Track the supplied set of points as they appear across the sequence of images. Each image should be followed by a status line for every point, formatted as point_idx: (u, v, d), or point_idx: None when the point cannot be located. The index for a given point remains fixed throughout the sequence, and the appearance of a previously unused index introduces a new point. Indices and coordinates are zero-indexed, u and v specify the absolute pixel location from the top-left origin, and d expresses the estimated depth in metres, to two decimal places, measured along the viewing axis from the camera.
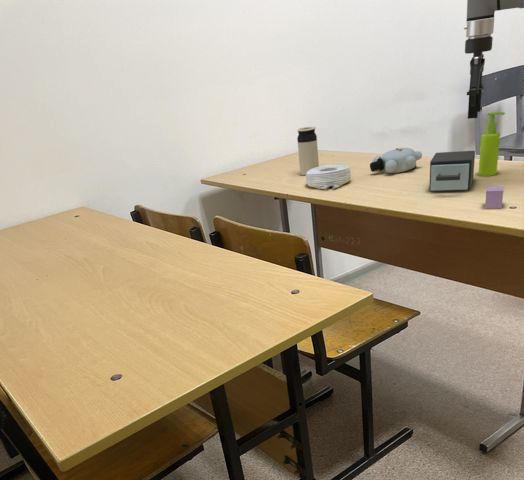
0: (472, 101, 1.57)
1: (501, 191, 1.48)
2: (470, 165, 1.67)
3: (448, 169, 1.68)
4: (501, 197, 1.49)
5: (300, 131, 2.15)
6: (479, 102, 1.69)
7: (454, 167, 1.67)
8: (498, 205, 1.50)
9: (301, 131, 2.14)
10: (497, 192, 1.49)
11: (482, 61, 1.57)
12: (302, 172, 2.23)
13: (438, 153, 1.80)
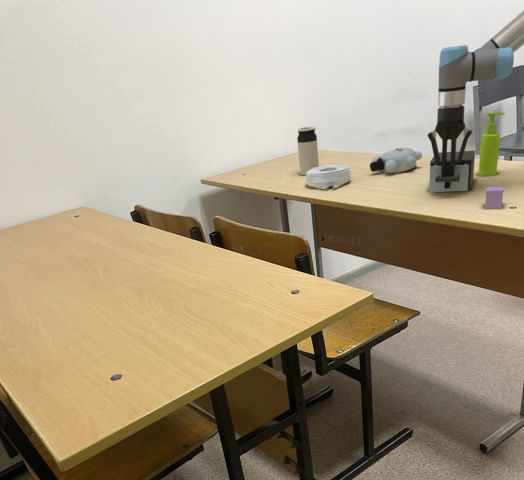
0: None
1: (501, 191, 1.48)
2: (470, 165, 1.67)
3: None
4: (501, 197, 1.49)
5: (300, 131, 2.15)
6: None
7: None
8: (498, 205, 1.50)
9: (301, 131, 2.14)
10: (497, 192, 1.49)
11: (442, 132, 1.59)
12: (302, 172, 2.23)
13: None
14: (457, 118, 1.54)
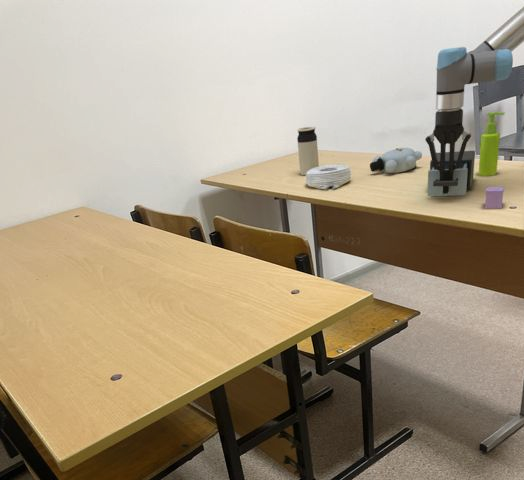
0: (440, 176, 1.62)
1: (501, 191, 1.48)
2: (470, 165, 1.67)
3: None
4: (501, 197, 1.49)
5: (300, 131, 2.15)
6: None
7: None
8: (498, 205, 1.50)
9: (301, 131, 2.14)
10: (497, 192, 1.49)
11: (440, 136, 1.55)
12: (302, 172, 2.23)
13: (438, 153, 1.80)
14: (455, 122, 1.50)
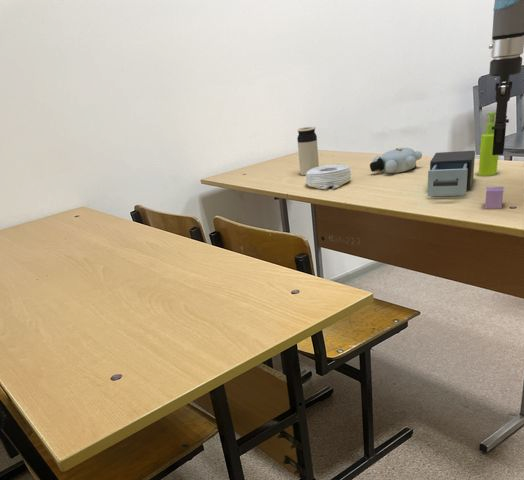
0: (498, 136, 1.39)
1: (501, 191, 1.48)
2: (470, 165, 1.67)
3: (446, 174, 1.62)
4: (501, 197, 1.49)
5: (300, 131, 2.15)
6: None
7: (452, 172, 1.61)
8: (498, 205, 1.50)
9: (301, 131, 2.14)
10: (497, 192, 1.49)
11: (510, 86, 1.36)
12: (302, 172, 2.23)
13: (438, 153, 1.80)
14: None
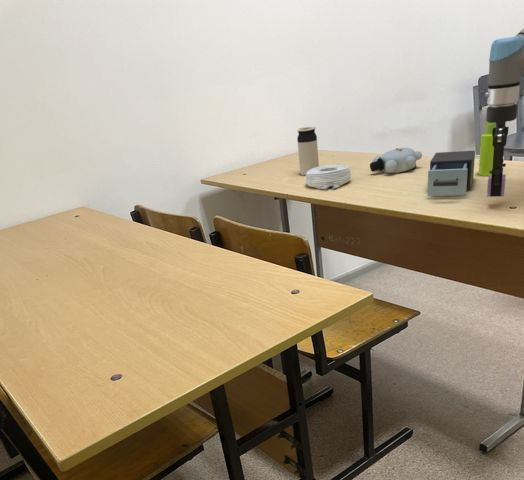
0: (495, 179, 1.46)
1: (503, 178, 1.47)
2: (470, 165, 1.67)
3: (446, 174, 1.62)
4: (503, 185, 1.47)
5: (300, 131, 2.15)
6: None
7: (452, 172, 1.61)
8: (501, 193, 1.49)
9: (301, 131, 2.14)
10: None
11: (506, 132, 1.41)
12: (302, 172, 2.23)
13: (438, 153, 1.80)
14: None
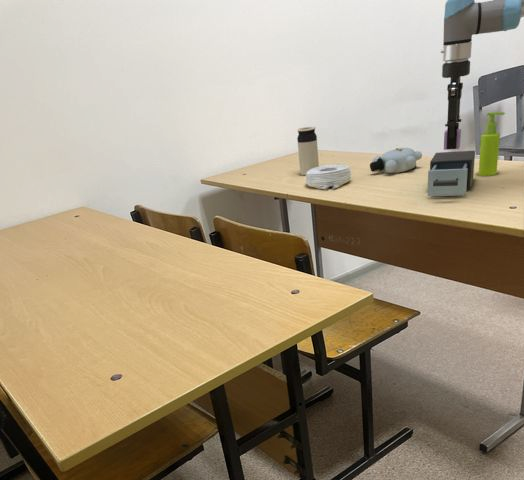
0: (450, 132, 1.57)
1: (458, 131, 1.58)
2: (470, 165, 1.67)
3: (446, 174, 1.62)
4: (458, 138, 1.58)
5: (300, 131, 2.15)
6: None
7: (452, 172, 1.61)
8: (456, 145, 1.60)
9: (301, 131, 2.14)
10: None
11: (460, 87, 1.52)
12: (302, 172, 2.23)
13: (438, 153, 1.80)
14: None
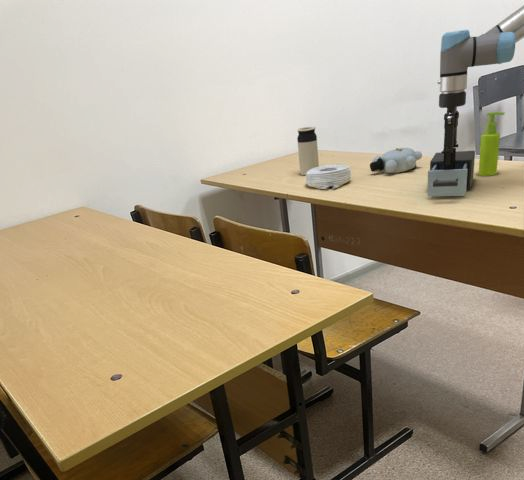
0: (447, 159, 1.60)
1: None
2: (470, 165, 1.67)
3: (446, 175, 1.62)
4: None
5: (300, 131, 2.15)
6: (453, 160, 1.67)
7: (452, 172, 1.61)
8: None
9: (301, 131, 2.14)
10: None
11: (456, 116, 1.56)
12: (302, 172, 2.23)
13: (438, 153, 1.80)
14: None
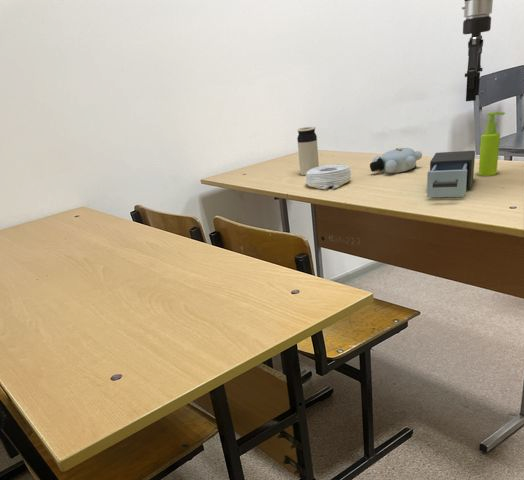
0: (470, 83, 1.53)
1: None
2: (470, 165, 1.67)
3: (445, 175, 1.61)
4: None
5: (300, 131, 2.15)
6: (477, 85, 1.66)
7: (451, 173, 1.60)
8: None
9: (301, 131, 2.14)
10: None
11: (480, 42, 1.53)
12: (302, 172, 2.23)
13: (438, 153, 1.80)
14: None
